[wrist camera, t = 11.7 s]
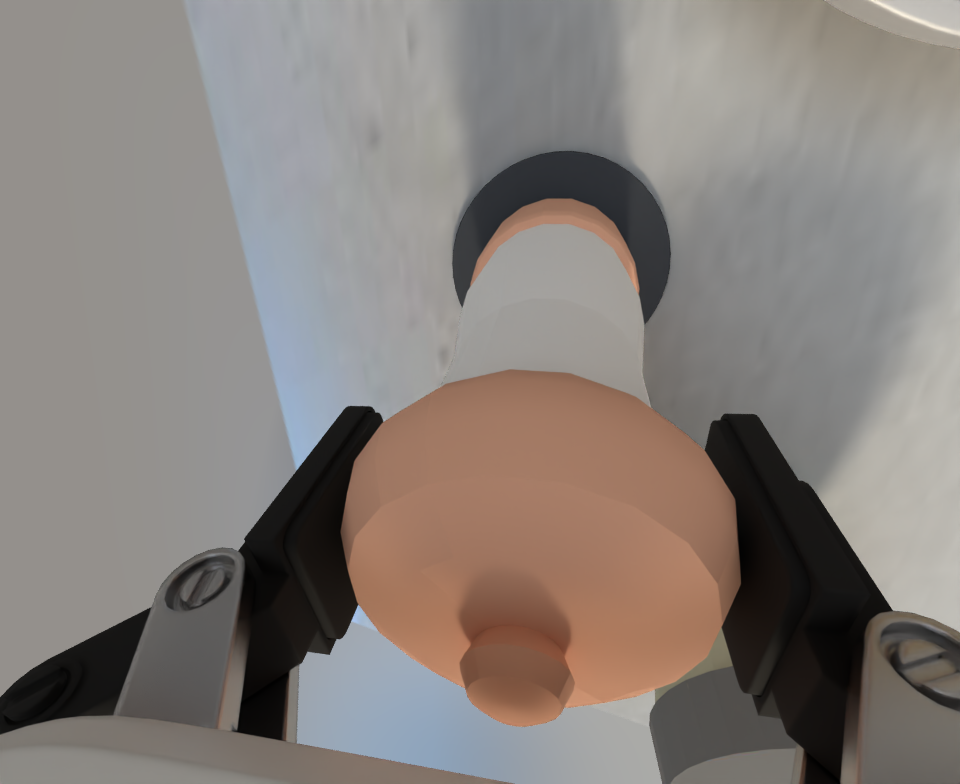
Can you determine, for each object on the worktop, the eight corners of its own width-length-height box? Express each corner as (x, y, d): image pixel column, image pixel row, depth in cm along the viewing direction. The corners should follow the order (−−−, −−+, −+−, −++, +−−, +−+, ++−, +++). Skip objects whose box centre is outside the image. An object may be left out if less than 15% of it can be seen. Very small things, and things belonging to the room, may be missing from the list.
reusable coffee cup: (633, 448, 28) (685, 718, 15) (857, 460, 25) (1135, 789, 13) (615, 573, 34) (642, 834, 22) (793, 591, 32) (936, 895, 19)
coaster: (465, 363, 27) (464, 366, 26) (441, 162, 21) (438, 162, 21) (655, 363, 25) (656, 367, 24) (684, 139, 19) (687, 139, 19)
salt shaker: (474, 328, 24) (285, 746, 8) (493, 184, 20) (195, 450, 4) (605, 354, 23) (683, 855, 8) (652, 212, 20) (1027, 638, 4)
